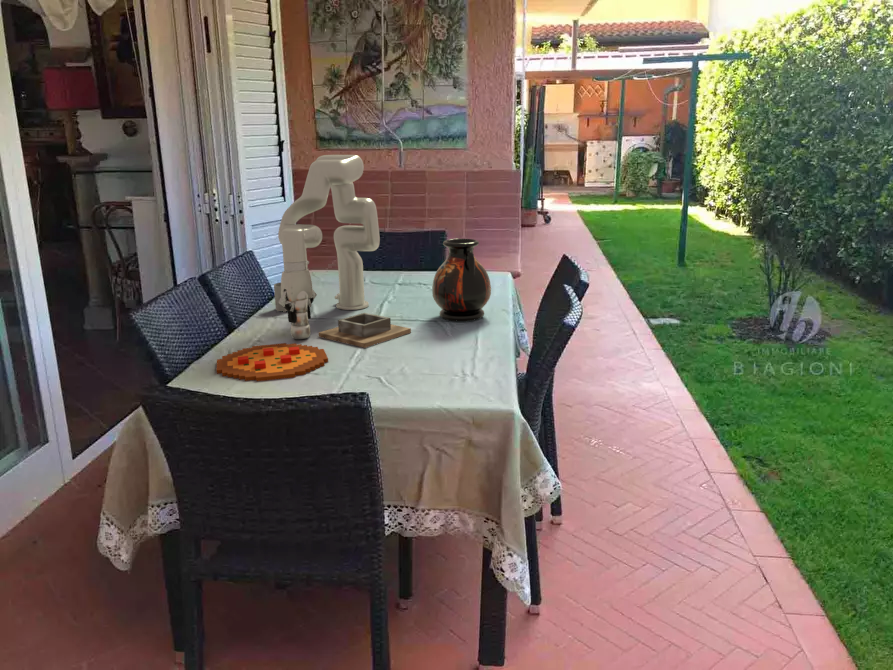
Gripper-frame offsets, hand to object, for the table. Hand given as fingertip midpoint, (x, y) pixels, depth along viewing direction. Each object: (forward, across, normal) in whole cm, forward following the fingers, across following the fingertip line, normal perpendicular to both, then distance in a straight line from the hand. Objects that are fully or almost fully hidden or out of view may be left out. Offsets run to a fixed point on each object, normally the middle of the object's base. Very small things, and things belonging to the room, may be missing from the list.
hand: (299, 319), depth 241 cm
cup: (+7, -24, -37) cm, 45 cm away
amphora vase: (+7, -54, +26) cm, 60 cm away
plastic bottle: (+7, 0, 0) cm, 7 cm away
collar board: (+6, -16, +14) cm, 22 cm away
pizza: (+7, +22, +13) cm, 26 cm away
